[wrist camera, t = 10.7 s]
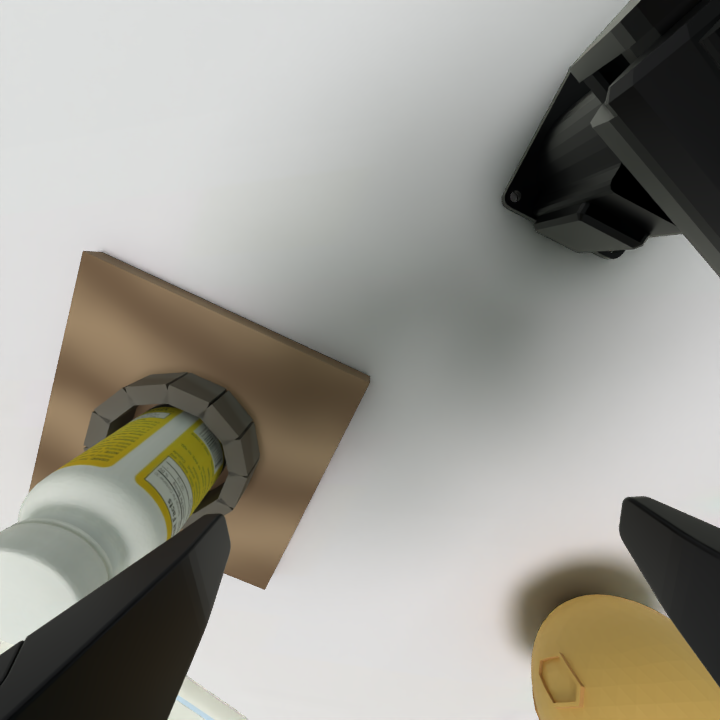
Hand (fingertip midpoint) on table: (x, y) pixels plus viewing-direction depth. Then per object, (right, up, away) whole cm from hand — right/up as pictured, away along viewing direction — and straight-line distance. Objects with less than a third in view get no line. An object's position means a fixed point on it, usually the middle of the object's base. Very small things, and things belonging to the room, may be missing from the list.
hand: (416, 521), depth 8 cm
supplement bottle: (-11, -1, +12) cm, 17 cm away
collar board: (-11, -1, +13) cm, 17 cm away
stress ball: (+14, -13, +16) cm, 25 cm away
